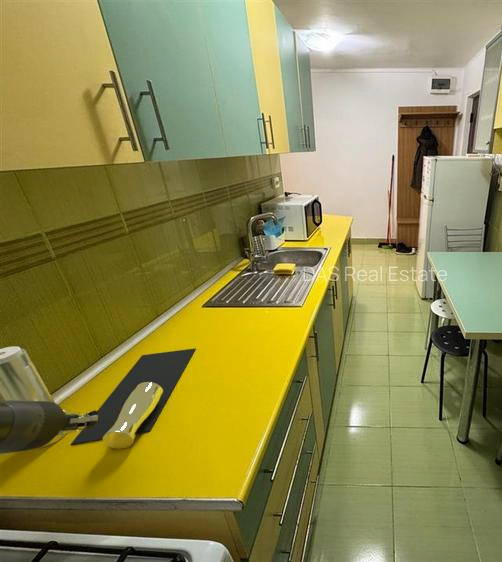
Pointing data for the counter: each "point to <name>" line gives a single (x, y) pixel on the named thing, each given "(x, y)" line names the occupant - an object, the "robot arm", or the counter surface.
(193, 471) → the counter surface
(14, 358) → the silver metal cylinder
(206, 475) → the counter surface
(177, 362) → the mat
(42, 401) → the robot arm
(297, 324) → the counter surface
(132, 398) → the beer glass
